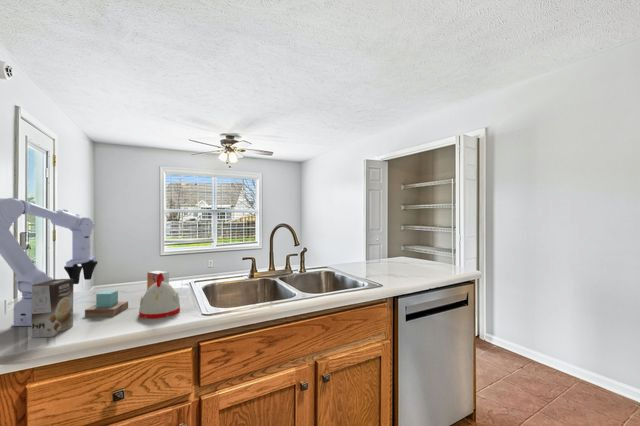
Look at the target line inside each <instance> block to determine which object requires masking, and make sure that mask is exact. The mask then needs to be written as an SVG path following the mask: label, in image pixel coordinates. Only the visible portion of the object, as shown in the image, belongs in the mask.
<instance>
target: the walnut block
mask: <svg viewBox="0 0 640 426" xmlns="http://www.w3.org/2000/svg"><path fill="white" fill-rule="evenodd" d="M127 309H129V301H118V303H117V304H115V305H114V306H112V307H96V304H95V305H92V306H90V307H88V308H85V309H84V317H85V318H89V317H92V318H93V317H114V316H117V315H118V314H120V313H122V312H123V311H125V310H127Z"/></svg>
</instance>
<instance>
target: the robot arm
mask: <svg viewBox="0 0 640 426" xmlns="http://www.w3.org/2000/svg"><path fill="white" fill-rule="evenodd" d="M22 215H30V216H31V215H32V216H35V217H38V218H42V219H46V220H50V223H51V224H52V225H55V226H57V227H61V228H65V229H68V230H70V232H71V233H72V234H71V237H72V242H71V243H72V250H71V251H72V252H71V254H72V257H71V259H70V260H67V261H65V265H64V266H63V268H64V270H65V272H66V273H67V275H68V276H69V279H74V282H73V285H78V284H79V283H80V278H81V272H82V273H83V278H84V279H83V280H86V281H88V280H92V276H93V273H94V271H95V269H96V267H97V265H98V260H96V255H91V251H92V249H91V242H92V241H91V235H92V232H93V230H94V229H95V224H94V222H93V220H92V219H91V218H89V217H82V216H81V214H79V213H77V214H73V213H72V212H69V210H67V209H58V210H55V211H54V210H52V209H49V208H47V207H44V206H41V205H39V204H36V203H32V202H30V201H27V200H24V199H18V198H15V197H8V198H7V197H6V198H0V256H1V257H2V258H3V260H4V261H5V262H6V264H7V265H8V266H9V268H10V269H11V270H12V272H13V273H14V274H15V275H16V276H15V277H14V280H15V282H16V284H17V291H19V292H20V293H21V296H22V298H21V299H20V300H19V301H18V302H16V303H15V304H14V307H13V323H12V324H10V327H28V326H31V322H32V285H35V284H38V283H42V282H46V281H50V280H54V278H52V277H51V276H49V275H47V273H45V272H44V271H43V270H41V269H40V268H38V267H37V266H36V265H35V263H34V262H33V260H32V259H31V258H30V257H29V255H28V254H27V252H26V250H24V249H23V247H22V246H21V244H20V243H19V241H18V240H17V238H16V237H15V236H14V234H13V233H12V231H10V229H11V227H12V225H13V223H15V222H16V221H17V220H18V219H19V218H20V217H21V216H22Z"/></svg>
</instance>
